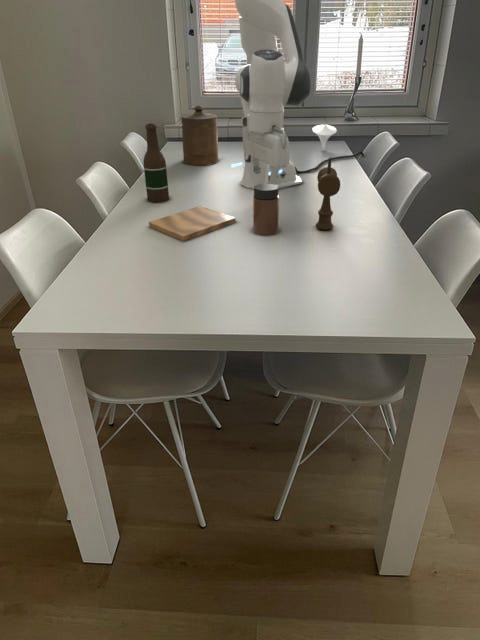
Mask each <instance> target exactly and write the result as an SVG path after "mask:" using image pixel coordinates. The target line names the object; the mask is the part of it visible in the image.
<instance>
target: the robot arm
mask: <svg viewBox="0 0 480 640" xmlns="http://www.w3.org/2000/svg"><path fill="white" fill-rule="evenodd" d="M234 4H235V8H236V11H237V13H238V23H239V33H240V44H241V47H242V49H243V51H244V53H245V55H246V58H247V61H248V64H245V65H243V66H242V67H240V68H239V69H238V70H237V72H236V74H235V76H234V77H235V78H234V84H235V87H236V90H237V92H238V94H239V97H240V102H241V106H242V111H243V116H242V117H241V126H242V148H243V159H244V160H243V161H244V165H243V161H242V162H238V163H233V164H231V165H230V166H231V168H235V167H238V166H242V165H243V174H242V178H241V182H240V184H241V186H243V187H244V188H247V189H253V190H254V186H256V185H258V184H274V185H277V186H278V190H281V189H284V188H289V187H291V186H292V187H293V186H297V185H300V184H302V182H303V180H302V179H303V178H301V177H300V176H298V175H297V174H307V173H310V172H314V171H317V169H319V168H320V167H321V166H323V164H325V163H328V160H329V158H326V159H324V160H321V162H319V163H318V164H317V165H316V166H314V167H312V168H309V169H305V170H298V168H297V167H296V166H295V165H294V163H293V162H292V161H291V160H290V142H289V137H288V136H287V134H286V132H285V129H284V119H285V118H284V117H285V107H284V105H285V106H297V107H298V106H299V105H301V104H302V103H303V102H304V101H306V99H307V98H308V97H309V96H310V94H311V85H312V81H311V75H310V71H309V68H308V66H307V63H306V61H305V58H304V57H305V56H304V53H303V50H302V46H301V43H300V42H301V41H300V38H299V34H298V30H297V27H296V22H295V19H294V15H293V13H292V9H291V8H290V6H289V5H288V4H287V3H285V2H284V1H283V0H234ZM277 39H278V40H279V42H280V44H281V45H280V46H281V49H282V52H283V53H282V52H280V51H279V47H278V42H277ZM358 155H361V156H364V152H363V151H357V152H356V153H354V154H350V155H340V156H334V157H331V161H334V160H335V161H336V160H340V159H341V160H342V159H351V158H355V157H356V156H358Z"/></svg>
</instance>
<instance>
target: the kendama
mask: <svg viewBox="0 0 480 640" xmlns="http://www.w3.org/2000/svg"><path fill="white" fill-rule="evenodd" d="M331 158H332V157H329V158H328V159H329V160H328V161H327V166H325V167H322V168H321V169H320V170H319V171H318V173H317V178H316V179H317V190H318V192H319V194H320V195H322V196H323V197H322V202H321V206H320V208H319V210H318V211H317V214H318V221H317V222H316V223H315V228H316V229H318V230H321V231H329V230H332V229H334V224H333V222H332V216H333V215H334V211H333V210H332V206H331V197H333V196H335V195H338V192H340V189H341V180H340V178H339V177H338V172H337V171H336V169H335V168H334V167H332V160H331Z"/></svg>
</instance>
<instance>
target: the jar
mask: <svg viewBox="0 0 480 640" xmlns="http://www.w3.org/2000/svg"><path fill="white" fill-rule="evenodd" d="M279 216H280V195H279V194H278V197H277V198H274V199H258V198H256V197H254V195H253V196H252V232H253V233H254V234H255V235H259V236H272V235H276V234H277V233H279V218H280V217H279Z"/></svg>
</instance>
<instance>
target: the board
mask: <svg viewBox="0 0 480 640" xmlns="http://www.w3.org/2000/svg"><path fill="white" fill-rule="evenodd" d="M236 219H237V218H236V217H234V216H232V215H230V214H229V215H228V214H226V213H223V212H220V211H217V210H213V209H211V208H209V207H205V206H202V205H199V206H195V207H192V208H189V209H185V210H183V211H179V212H176V213H173V214H170V215H166V216H163V217H161V218H158V219H153V220H151V221H149V222H148V227H149V228H150V229H153V230H155V231H158V232H161V233H163V234H165V235H168V236H171V237H172V238H175V239H177V240H179V241H182V242H186V241H188V240H192V239H194V238H198V237H200V236H203V235H205V234H208V233H211V232H213V231H216V230H219V229H222V228H225V227H227V226H230V225H232V224H236V221H237V220H236Z"/></svg>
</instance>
